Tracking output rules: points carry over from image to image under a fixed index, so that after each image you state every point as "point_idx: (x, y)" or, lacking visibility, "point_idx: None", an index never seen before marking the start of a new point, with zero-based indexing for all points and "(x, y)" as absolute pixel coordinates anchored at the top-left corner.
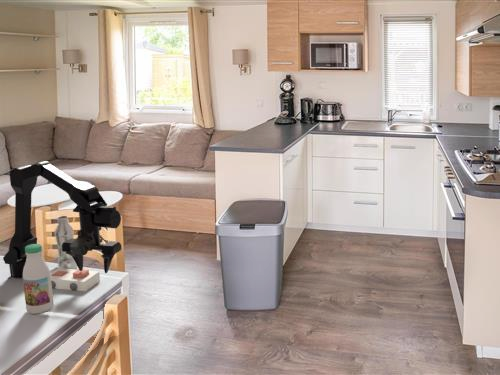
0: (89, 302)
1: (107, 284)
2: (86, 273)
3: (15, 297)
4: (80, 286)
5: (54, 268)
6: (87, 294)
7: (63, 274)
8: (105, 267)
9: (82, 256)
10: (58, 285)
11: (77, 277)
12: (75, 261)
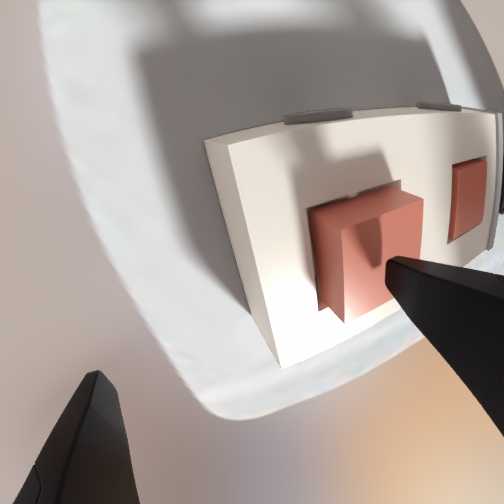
0: (52, 58)
1: (192, 327)
2: (333, 283)
3: (455, 18)
4: (258, 131)
5: (494, 231)
6: (174, 137)
7: (456, 193)
8: (63, 428)
9: (471, 381)
10: (412, 109)
11: (365, 199)
12: (499, 277)
